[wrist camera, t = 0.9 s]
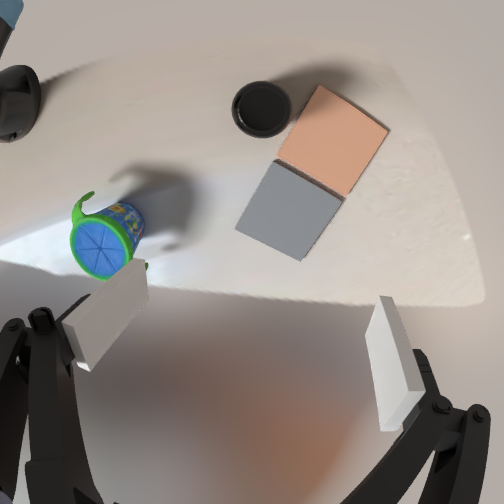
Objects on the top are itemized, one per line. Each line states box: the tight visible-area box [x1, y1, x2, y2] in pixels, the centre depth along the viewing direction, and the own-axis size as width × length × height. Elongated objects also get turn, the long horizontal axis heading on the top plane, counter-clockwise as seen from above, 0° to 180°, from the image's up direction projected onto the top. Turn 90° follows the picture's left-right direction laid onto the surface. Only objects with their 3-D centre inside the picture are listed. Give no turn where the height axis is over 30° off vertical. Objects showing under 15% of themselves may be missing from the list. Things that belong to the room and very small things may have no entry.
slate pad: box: [235, 161, 342, 262], centre depth 44 cm, size 12×12×1 cm
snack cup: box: [70, 191, 148, 281], centre depth 41 cm, size 16×10×10 cm
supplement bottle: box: [232, 81, 293, 138], centre depth 31 cm, size 7×7×12 cm
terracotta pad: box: [277, 85, 388, 196], centre depth 38 cm, size 12×12×1 cm
